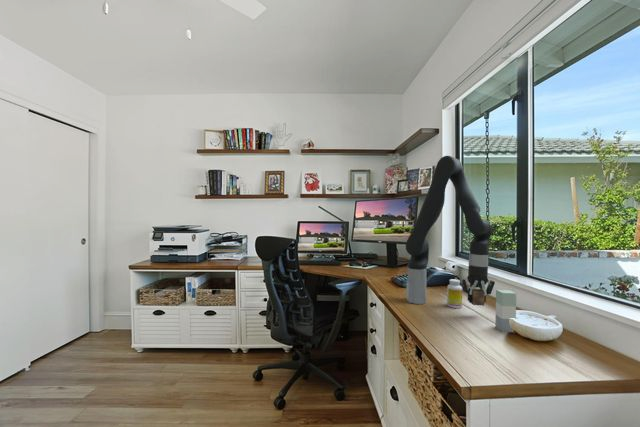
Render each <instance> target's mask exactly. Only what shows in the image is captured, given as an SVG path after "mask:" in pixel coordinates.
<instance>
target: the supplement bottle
mask: <svg viewBox="0 0 640 427" xmlns="http://www.w3.org/2000/svg"><path fill="white" fill-rule="evenodd" d="M460 284H461V279H455V278H454V279H453V278H451V279H449V284H448V285H447V286H446V287H447V290H446V291H447V293H446V296H447V297H446V304H447V306H448V307H449V308H452V309H462V307H463V288H462V285H460Z"/></svg>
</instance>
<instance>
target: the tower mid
mask: <svg viewBox="0 0 640 427" xmlns="http://www.w3.org/2000/svg"><path fill="white" fill-rule="evenodd" d="M496 315H497V316H499V317H500V318H502V319H509V318H515V319H516V320H517V305H516V306H502V305H500V304H498V303H497V302H496V301H495V316H496Z"/></svg>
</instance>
